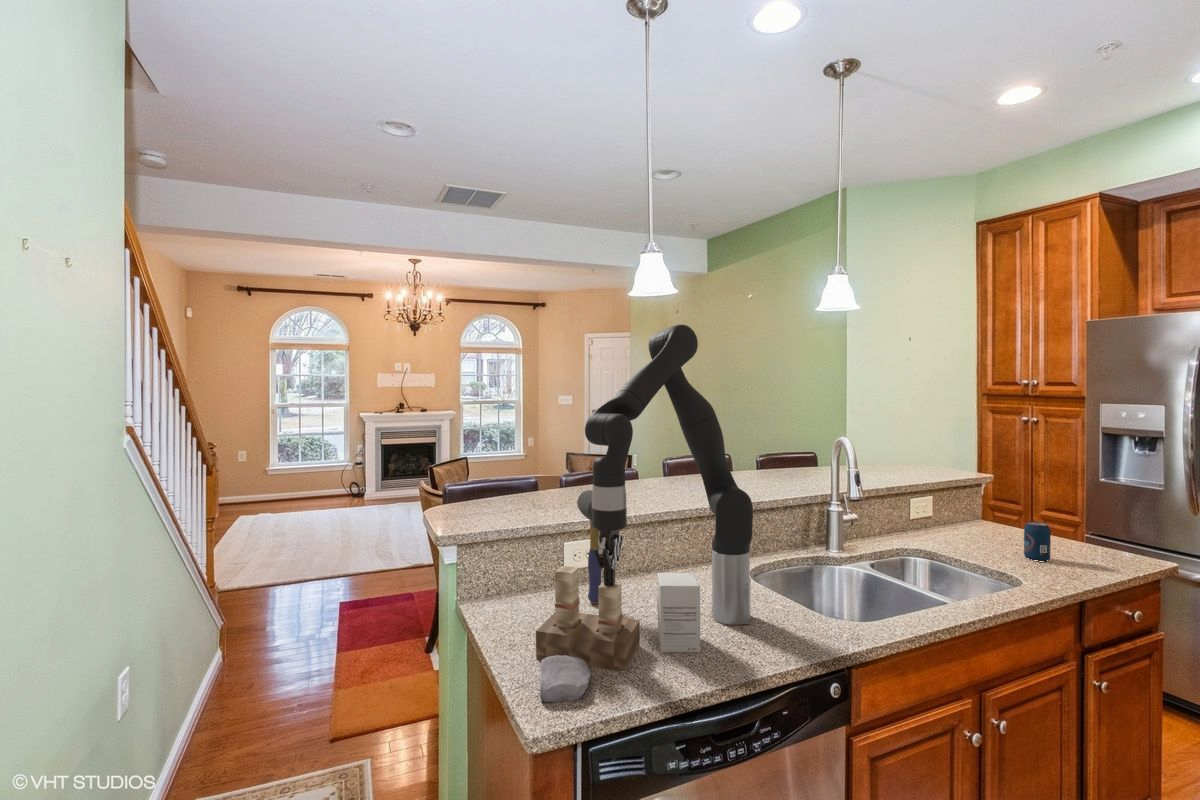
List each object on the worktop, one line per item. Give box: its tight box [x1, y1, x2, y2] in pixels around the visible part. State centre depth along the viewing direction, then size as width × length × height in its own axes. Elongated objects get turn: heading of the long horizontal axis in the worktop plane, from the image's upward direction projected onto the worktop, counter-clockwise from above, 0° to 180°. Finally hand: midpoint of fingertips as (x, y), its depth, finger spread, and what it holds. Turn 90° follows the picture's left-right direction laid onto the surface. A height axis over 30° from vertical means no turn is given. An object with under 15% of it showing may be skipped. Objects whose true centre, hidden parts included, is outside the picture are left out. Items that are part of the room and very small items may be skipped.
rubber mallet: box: [576, 489, 603, 605], centre depth 156 cm, size 12×8×30 cm, turn 16°
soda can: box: [1023, 520, 1052, 562], centre depth 190 cm, size 7×7×12 cm
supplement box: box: [656, 572, 701, 653], centre depth 131 cm, size 9×9×15 cm
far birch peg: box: [554, 565, 580, 629], centre depth 129 cm, size 4×4×13 cm
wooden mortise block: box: [535, 611, 641, 673], centre depth 128 cm, size 20×12×6 cm, turn 72°
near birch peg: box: [597, 580, 623, 635], centre depth 126 cm, size 4×4×13 cm
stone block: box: [539, 655, 591, 704], centre depth 114 cm, size 12×5×10 cm
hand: (609, 584), depth 126 cm, fingers closed
